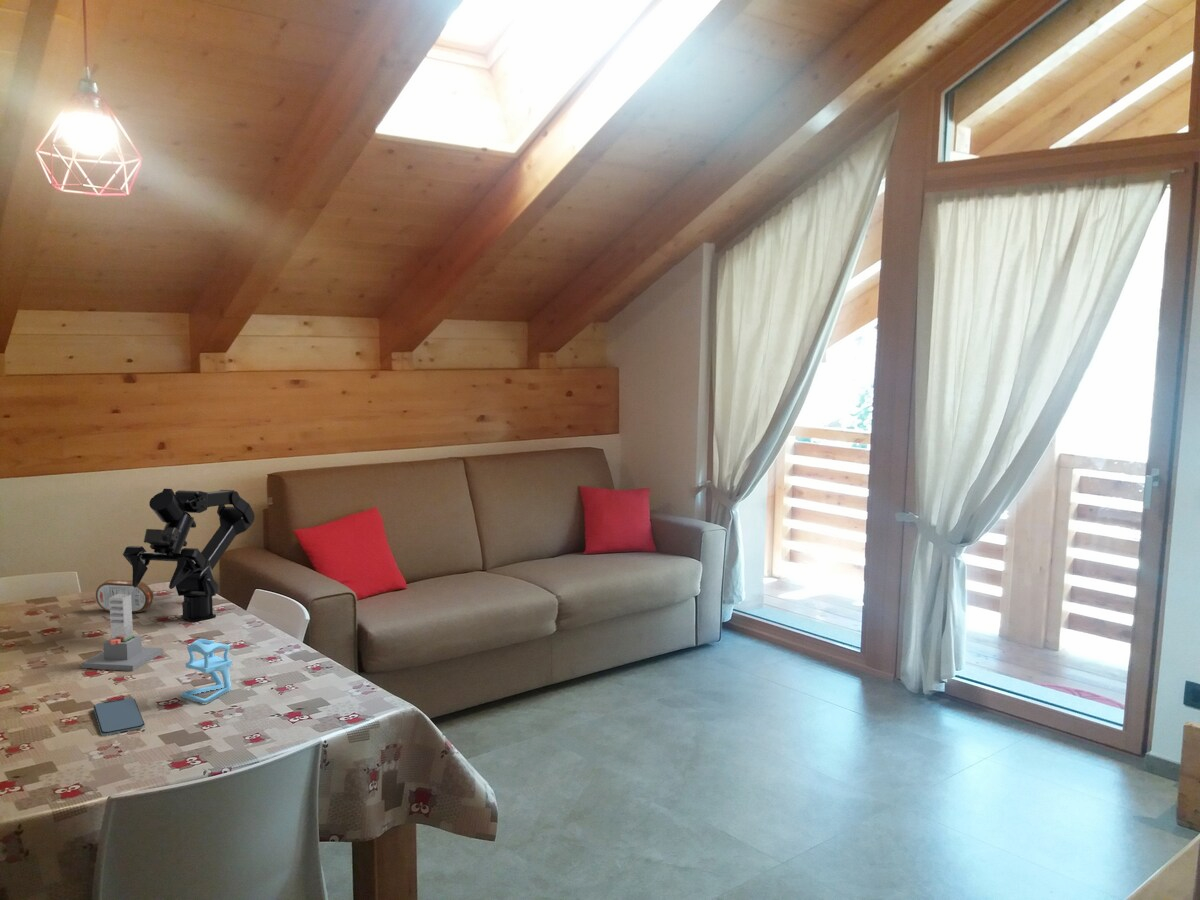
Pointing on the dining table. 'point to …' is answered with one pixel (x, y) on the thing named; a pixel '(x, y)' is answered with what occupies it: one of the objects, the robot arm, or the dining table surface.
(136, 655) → the base
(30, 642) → the dining table surface
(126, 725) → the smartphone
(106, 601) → the tin
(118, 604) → the column
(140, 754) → the dining table surface
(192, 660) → the light blue holder stand
